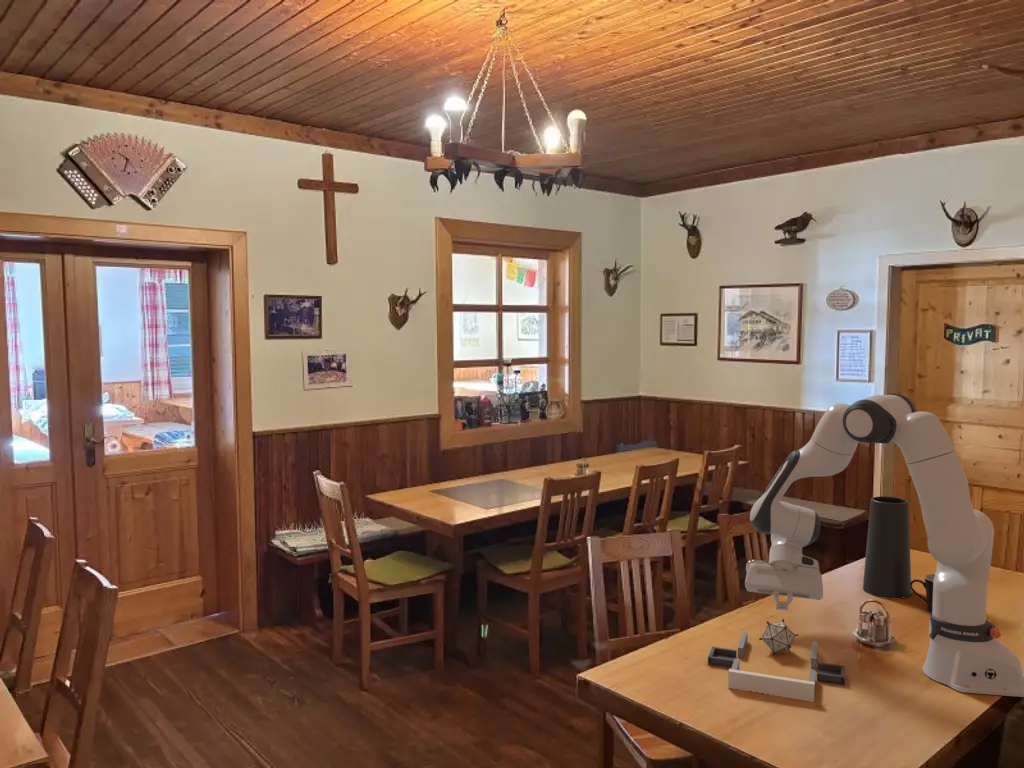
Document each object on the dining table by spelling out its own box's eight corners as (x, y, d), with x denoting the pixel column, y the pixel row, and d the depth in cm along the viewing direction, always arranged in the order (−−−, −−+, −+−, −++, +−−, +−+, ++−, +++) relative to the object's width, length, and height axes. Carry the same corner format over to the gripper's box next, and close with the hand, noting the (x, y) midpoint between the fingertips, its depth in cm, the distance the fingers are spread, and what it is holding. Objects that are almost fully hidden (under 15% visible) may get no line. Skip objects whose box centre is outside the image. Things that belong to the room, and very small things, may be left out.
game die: (785, 669, 202) (801, 647, 196) (752, 654, 203) (768, 633, 197) (788, 640, 209) (804, 619, 203) (756, 627, 210) (771, 605, 204)
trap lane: (844, 655, 201) (844, 639, 201) (844, 707, 174) (845, 689, 174) (718, 637, 213) (718, 623, 213) (700, 683, 186) (700, 666, 185)
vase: (859, 593, 247) (861, 501, 245) (867, 581, 258) (869, 493, 256) (907, 601, 240) (911, 506, 237) (914, 589, 251) (917, 498, 249)
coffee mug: (963, 614, 229) (964, 580, 228) (947, 620, 224) (948, 585, 224) (923, 602, 239) (924, 569, 238) (907, 608, 234) (908, 575, 233)
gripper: (745, 553, 224) (741, 598, 216) (824, 561, 217) (822, 608, 208) (747, 564, 229) (742, 609, 221) (824, 573, 221) (822, 619, 213)
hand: (782, 609), depth 214 cm, fingers closed
